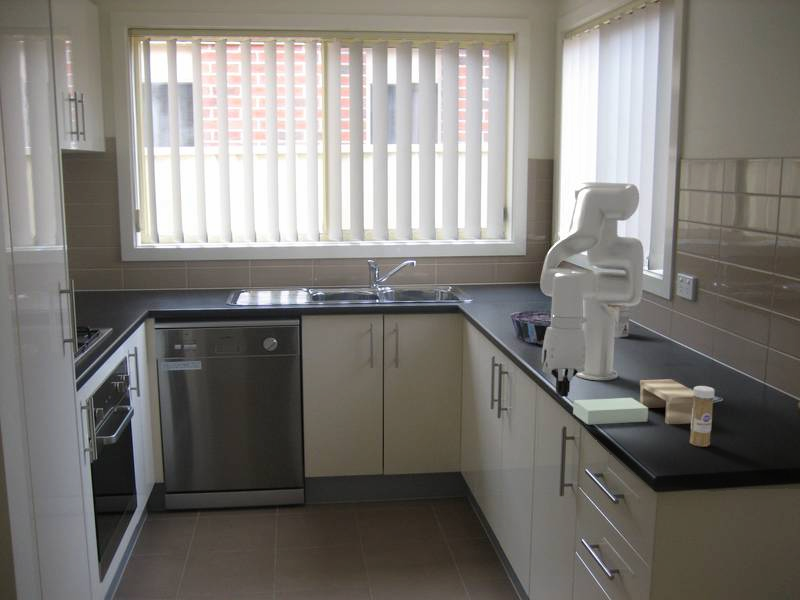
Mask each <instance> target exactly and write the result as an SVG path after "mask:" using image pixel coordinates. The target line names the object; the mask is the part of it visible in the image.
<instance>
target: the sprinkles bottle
mask: <svg viewBox="0 0 800 600" xmlns="http://www.w3.org/2000/svg"><path fill="white" fill-rule="evenodd" d="M715 391H716V390H715V388H713V387H711V386H706V385H697V386H694V387H693V395H694V396H693V397H694V400H693V408H692V420H691V423H690V436H689V443H690V444H691V445H693V446H696V447H708V446H710V445H711V431H712V424H713V423H712V422H713V407H714V406H713V404H714V403H713V399H714V396H715Z"/></svg>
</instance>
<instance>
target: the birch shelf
mask: <svg viewBox="0 0 800 600" xmlns="http://www.w3.org/2000/svg"><path fill="white" fill-rule="evenodd" d="M639 387H640V389H639V390H640V391H639V392H640V393H639V403H641V404H643V405H644V406H646V407H648V409H650V408H651V409H652V408H656V409H657V408H665V418H664V423H665V424H667V425H680V424H681V425H683V424H691V420H692V408H693V400H694V397H693V396H694V395H693V390H694V389H693V390H691V389H692V388H690V389H689V387H687V386H685V385H683V384H682V383H681V382H678V381H676V380H675V379H672V378H667V379H666V378H665V379H644V380H643V379H640V381H639Z"/></svg>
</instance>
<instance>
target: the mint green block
mask: <svg viewBox="0 0 800 600" xmlns="http://www.w3.org/2000/svg"><path fill="white" fill-rule="evenodd" d="M572 407H573V410H572V414H573V415H575V416H576V417H577V418H578V419H579V420H581V421H582V422H584V423H585V424H587V425H603V424H620V423H621V424H622V423H640V422H641V423H642V422H643V423H644V422H648V418H649V417H648V416H649V408H648V407H646V406H644V405H643V404H641V403H640V401H638V400H636V399H634V398H633V397H618V398H617V397H616V398H598V399H597V398H594V399H592V398H591V399H576V400H573V405H572Z"/></svg>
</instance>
